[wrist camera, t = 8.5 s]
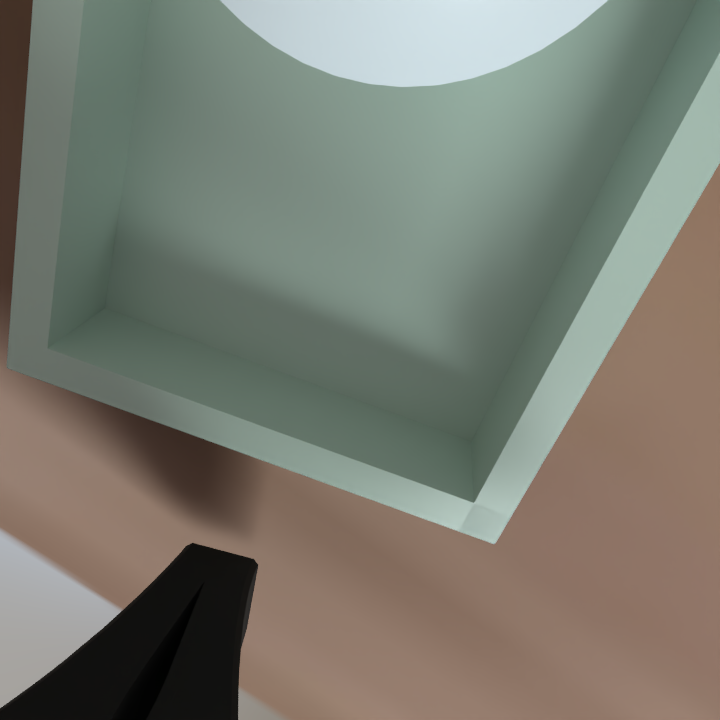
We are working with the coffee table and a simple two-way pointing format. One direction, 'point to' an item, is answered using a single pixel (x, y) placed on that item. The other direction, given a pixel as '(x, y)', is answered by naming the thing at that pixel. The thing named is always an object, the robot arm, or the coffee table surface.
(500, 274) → the tray
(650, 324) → the coffee table surface
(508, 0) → the round-ended grey cylinder
